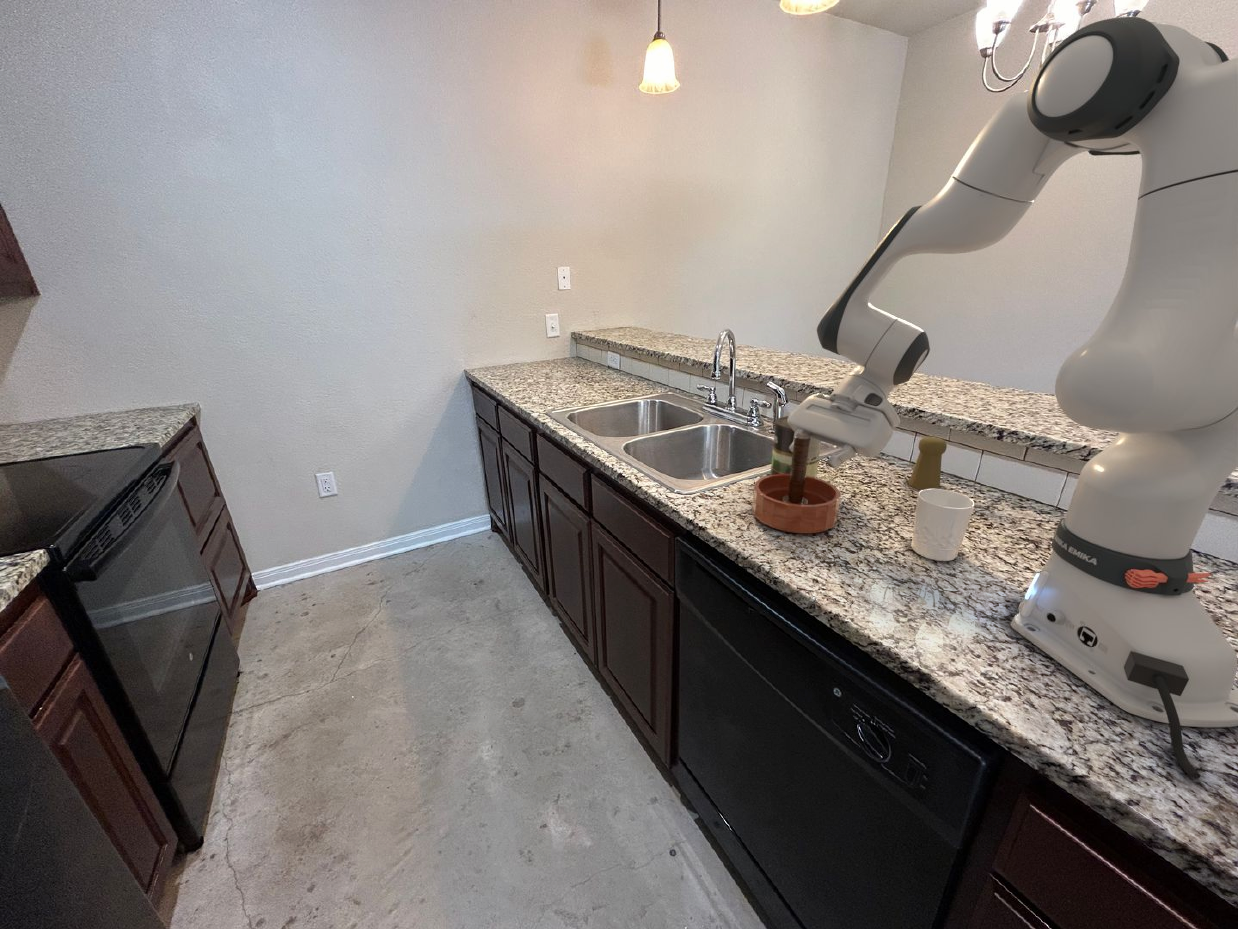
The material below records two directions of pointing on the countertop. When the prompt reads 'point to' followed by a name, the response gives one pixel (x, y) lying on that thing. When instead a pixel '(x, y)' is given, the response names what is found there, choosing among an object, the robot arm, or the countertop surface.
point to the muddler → (798, 471)
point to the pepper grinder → (928, 464)
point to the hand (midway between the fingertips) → (811, 458)
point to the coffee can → (784, 454)
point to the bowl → (795, 516)
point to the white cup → (940, 523)
